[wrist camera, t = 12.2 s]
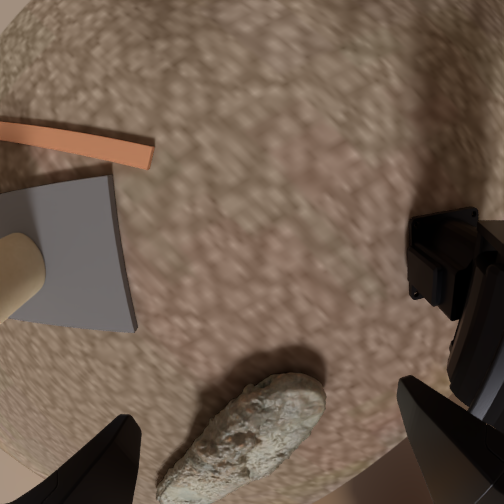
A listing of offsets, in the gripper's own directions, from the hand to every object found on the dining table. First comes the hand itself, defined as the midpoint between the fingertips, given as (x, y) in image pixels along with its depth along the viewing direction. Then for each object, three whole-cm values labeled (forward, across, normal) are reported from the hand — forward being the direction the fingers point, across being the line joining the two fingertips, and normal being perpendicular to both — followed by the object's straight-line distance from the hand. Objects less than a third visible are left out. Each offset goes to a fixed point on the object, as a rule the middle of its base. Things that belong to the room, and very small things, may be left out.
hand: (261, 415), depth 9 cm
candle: (+12, +19, -4) cm, 23 cm away
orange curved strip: (+13, +13, -13) cm, 23 cm away
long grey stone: (+14, +9, +23) cm, 29 cm away
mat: (+13, +17, -4) cm, 22 cm away
